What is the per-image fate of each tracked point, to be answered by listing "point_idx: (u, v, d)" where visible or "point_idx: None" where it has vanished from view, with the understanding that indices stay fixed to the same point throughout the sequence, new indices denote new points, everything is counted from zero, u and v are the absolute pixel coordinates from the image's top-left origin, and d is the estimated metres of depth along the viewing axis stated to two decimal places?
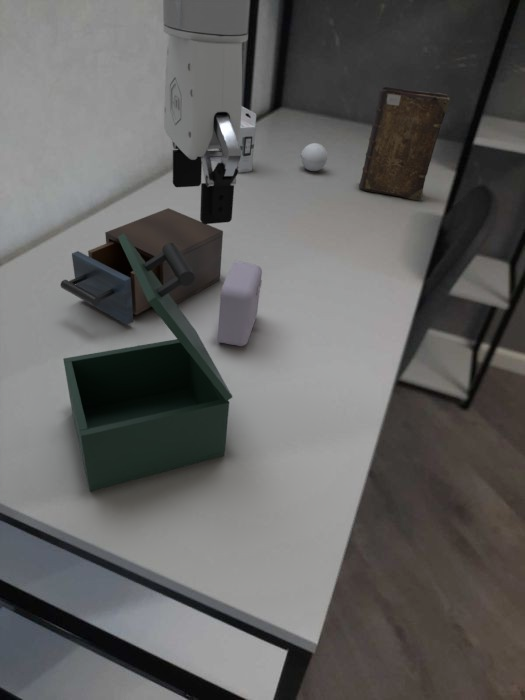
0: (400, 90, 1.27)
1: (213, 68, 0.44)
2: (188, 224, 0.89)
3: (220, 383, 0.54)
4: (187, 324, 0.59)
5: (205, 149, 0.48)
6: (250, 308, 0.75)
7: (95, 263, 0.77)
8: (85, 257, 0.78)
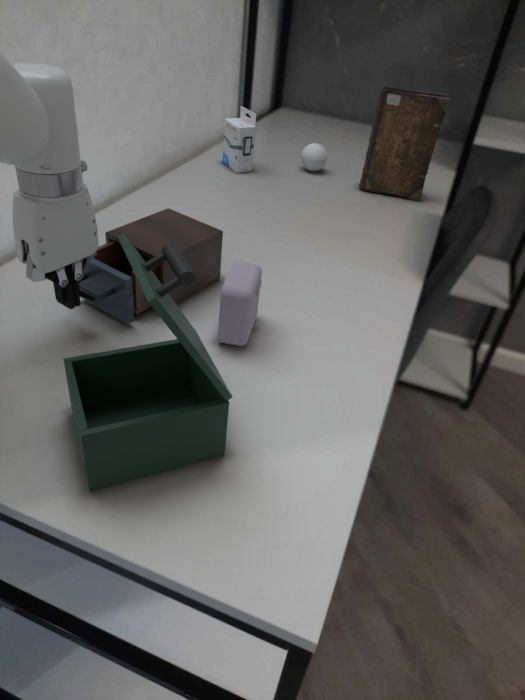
0: (400, 90, 1.27)
1: (16, 211, 0.63)
2: (188, 224, 0.89)
3: (220, 383, 0.54)
4: (187, 324, 0.59)
5: None
6: (250, 308, 0.75)
7: (96, 263, 0.77)
8: None
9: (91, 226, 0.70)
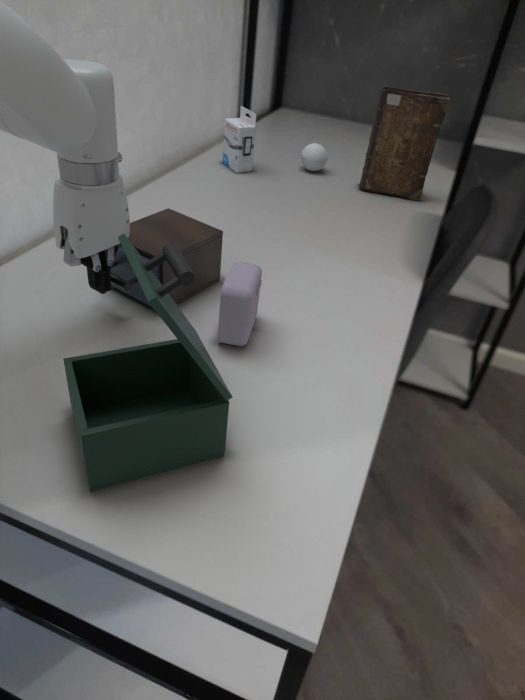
0: (400, 90, 1.27)
1: (57, 199, 0.67)
2: (188, 224, 0.89)
3: (220, 383, 0.54)
4: (187, 324, 0.59)
5: None
6: (250, 308, 0.75)
7: None
8: None
9: (124, 215, 0.74)
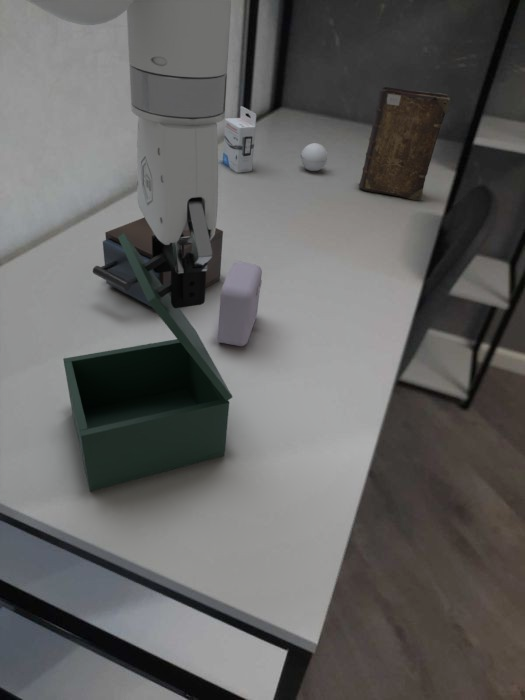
0: (400, 90, 1.27)
1: (185, 154, 0.40)
2: None
3: (220, 383, 0.54)
4: (187, 324, 0.59)
5: (176, 241, 0.44)
6: (250, 308, 0.75)
7: None
8: (116, 244, 0.82)
9: None
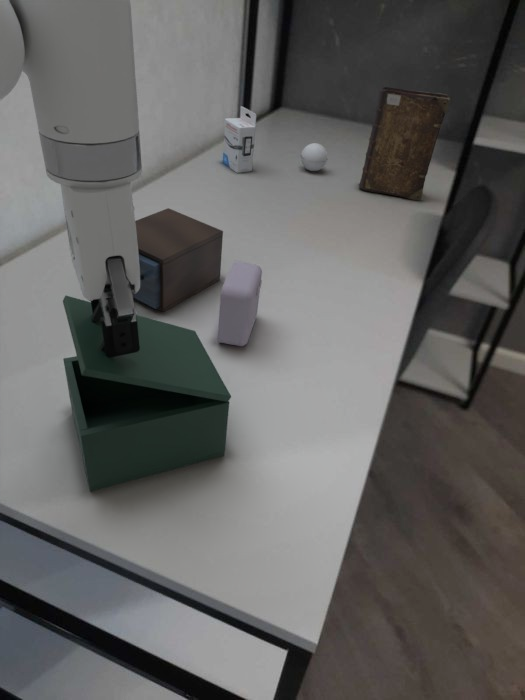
0: (400, 90, 1.27)
1: (97, 216, 0.40)
2: (188, 224, 0.89)
3: (208, 393, 0.55)
4: (169, 341, 0.59)
5: None
6: (250, 308, 0.75)
7: None
8: None
9: None
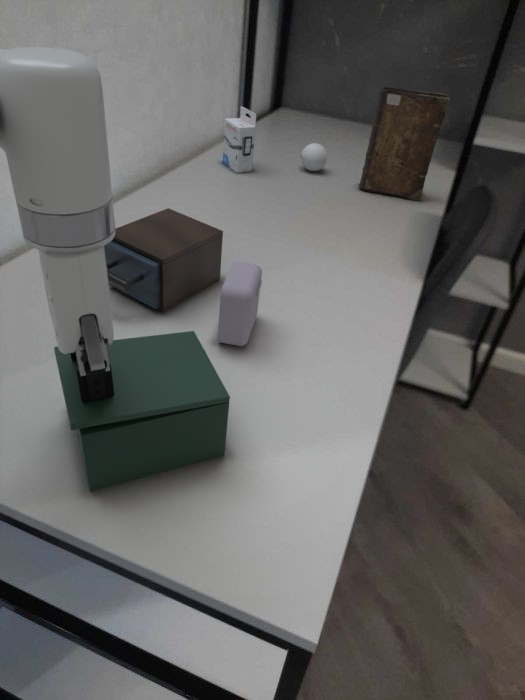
0: (400, 90, 1.27)
1: (70, 279, 0.42)
2: (188, 224, 0.89)
3: (204, 402, 0.55)
4: (163, 355, 0.60)
5: None
6: (250, 308, 0.75)
7: (125, 250, 0.81)
8: (116, 244, 0.82)
9: None
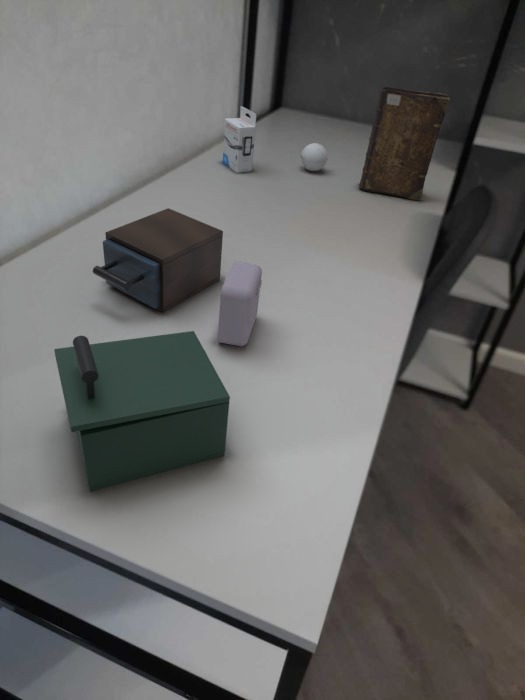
0: (400, 90, 1.27)
1: None
2: (188, 224, 0.89)
3: (204, 402, 0.55)
4: (162, 356, 0.60)
5: None
6: (250, 308, 0.75)
7: (125, 250, 0.81)
8: (116, 244, 0.82)
9: None
